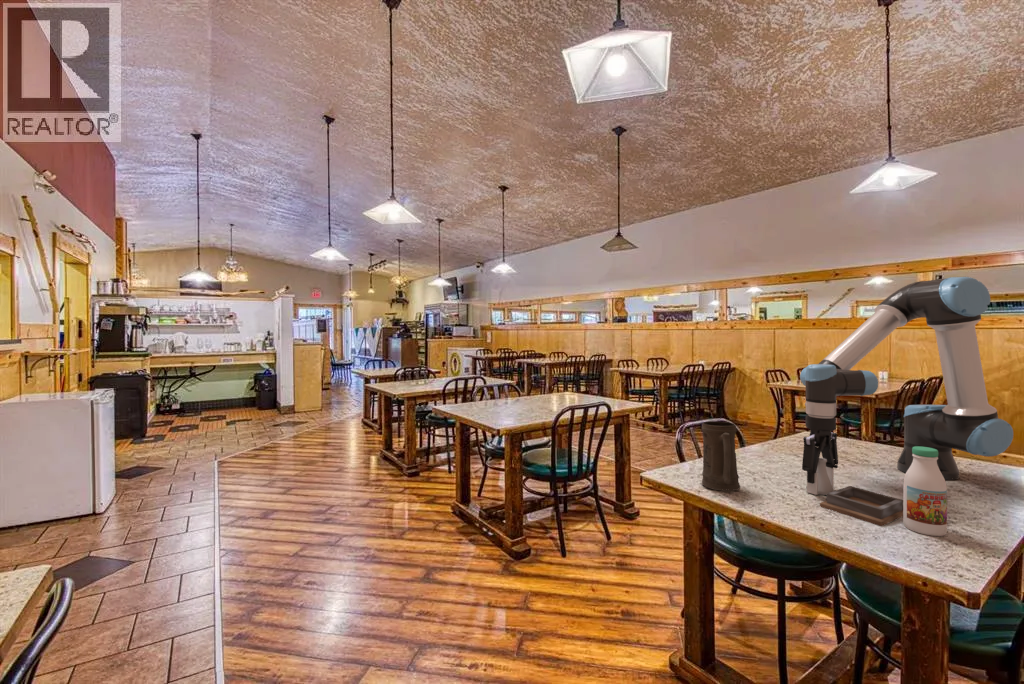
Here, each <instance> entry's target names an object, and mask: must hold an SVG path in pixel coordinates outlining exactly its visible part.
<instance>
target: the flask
mask: <svg viewBox="0 0 1024 684" xmlns="http://www.w3.org/2000/svg"><path fill="white" fill-rule="evenodd" d="M826 462H827V459H824V458H823V457H819V462H818V466H817V471H816V472H817V473H818V495H822V496H827V494H828V493H831V492H833V491H835V490H833V487H832V485H831V482H830V480H829V477H828V474H827V470H826ZM806 489H807V486H806Z"/></svg>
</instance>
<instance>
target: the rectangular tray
mask: <svg viewBox="0 0 1024 684" xmlns="http://www.w3.org/2000/svg"><path fill="white" fill-rule="evenodd" d="M820 506H821V507H820ZM819 507H820V508H823V509H827V510H829V509H830V511H832V510H833V512H835V511H837V512H836V513H838V512H839V514H842V515H845V516H848V517H852V518H854V519H858V520H861V521H864V522H866V523H867V522H868V523H870V524H873V525H877V526H879V527H883V526H885V525H888V524H890V523H891V522H894V521H896V520H898V519H900V518H903V499H900V498H898V497H894V496H889V495H887V494H881V493H878V492H874V491H872V490H871V491H870V490H866V489H865V488H860V487H857V486H852V485H849V486H845V487H842V488H840V489H837V490H834V491H833V492H831V493H828V494H827V495H826V500H825V501H821V502H820V503H819Z"/></svg>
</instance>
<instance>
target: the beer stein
mask: <svg viewBox="0 0 1024 684" xmlns="http://www.w3.org/2000/svg"><path fill="white" fill-rule="evenodd" d="M701 425H702V426H701V430H702V436H703V437H702V443H703V446H702V447H703V448H702V451H703V452H702V459H703V461H702V473H701V475H702V480H701V484H702V485H703V486H704V487H705V488H708V489H710V490H716V491H725V492H728V491H730V492H733V491H737V490H740V488H741V486H740V485H741V484H740V482H739V478H740V476H739V474H738V466H737V453H736V433H737V431H738V429H737V425H736V424H735V423H733V422H727V421H703V422H702V423H701Z"/></svg>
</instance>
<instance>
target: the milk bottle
mask: <svg viewBox="0 0 1024 684" xmlns="http://www.w3.org/2000/svg"><path fill="white" fill-rule="evenodd" d="M912 453H913V454H912V456H913V462H912V464H911V466H910V467H909V469H908V470H907V472H906V473H905V474H904V479H903V490H902V492H903V495H902V496H903V497H902V498H903V499H902V500H903V517H902V518H903V519H902V521H903V526H904V527H905V528H906V529H907V530H911V531H913V532H915V533H917V534H918V533H919V534H922V535H926V536H933V537H943V536H945V535H947V531H948V489H947V482H946V480H945V479H944V477H943V475H942V473H941V472H940V470H939V467H938V465H937V459H938V450H936V449H933V448H929V447H921V446H915V447H913V448H912Z"/></svg>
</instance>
